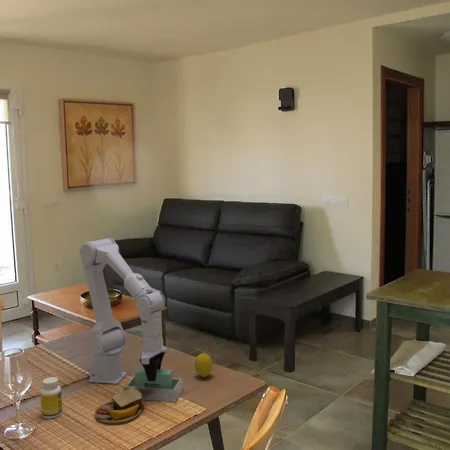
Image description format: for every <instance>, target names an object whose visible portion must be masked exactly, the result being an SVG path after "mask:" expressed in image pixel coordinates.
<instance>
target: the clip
mask: <svg viewBox="0 0 450 450" xmlns="http://www.w3.org/2000/svg"><path fill="white" fill-rule="evenodd" d="M134 375H135V382H136V387H147V388H148V383H154V384H160V385H161V388H163V389H172V380H173V378H174V377H173V369H172V370H171V369H160V370H158V369H157V374H156V380H155V381H148V379H147V376H146V372H145V370H144V368H141V367H140V368H137V369H136V370H135V372H134Z"/></svg>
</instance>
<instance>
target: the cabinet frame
mask: <svg viewBox="0 0 450 450" xmlns="http://www.w3.org/2000/svg"><path fill="white" fill-rule="evenodd" d="M183 381H184V380H183V378H181V377H179V378H177V377H173V380H172V389H163V388H161V385H160V384H154V383H148V388H147V387H136V382H135V374H134V375H132V377H131V378H130V379H129V380H128V382H127V383H126V384H125V385H123V391H125V390H127V389H129V388H135V389H137V390H138V391H139V392H140V393H141V394H142V399H143V400H144V401H151V402H164V403H165V402H167V403H177V401H178V399H179V397H180V396H181V394H182V392H183V391H184V382H183Z"/></svg>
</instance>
